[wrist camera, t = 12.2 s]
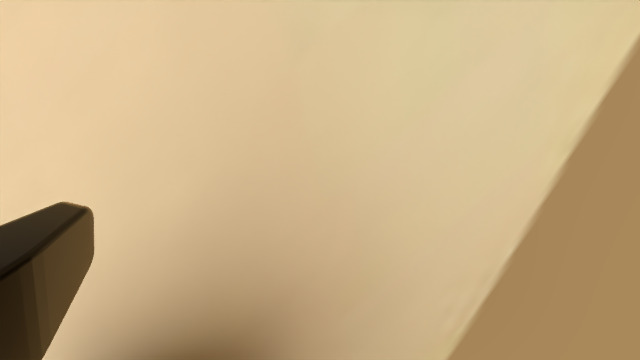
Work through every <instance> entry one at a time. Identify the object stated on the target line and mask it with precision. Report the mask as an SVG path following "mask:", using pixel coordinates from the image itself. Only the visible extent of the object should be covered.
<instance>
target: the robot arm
mask: <svg viewBox="0 0 640 360" xmlns="http://www.w3.org/2000/svg"><path fill="white" fill-rule="evenodd" d="M93 256H94V217H93V212H92V210H91V209H90V208H89V207H86V206H82V205H78V204H73V203H69V202H60V203H56V204H54V205H51V206H49V207H46V208H44V209H41V210H39V211H36V212H34V213H31V214H29V215H26V216H23V217H21V218H18V219H16V220H13V221H11V222H8V223H6V224H3V225H1V226H0V360H42V358H43V357H44V355H45V353H46V351H47V349H48V347H49V346H50V344H51V342H52V340H53V338H54V336H55V334H56V332H57V330H58V328H59V326H60V324H61V322H62V320H63V318H64V316H65V315H66V313H67V311H68V309H69V307H70V305H71V303H72V301H73V299H74V297H75V295H76V293H77V291H78V289H79V287H80V285H81V283H82V281H83V279H84V277H85V275H86V274H87V272H88V270H89V268H90V265H91V263H92V260H93Z"/></svg>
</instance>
